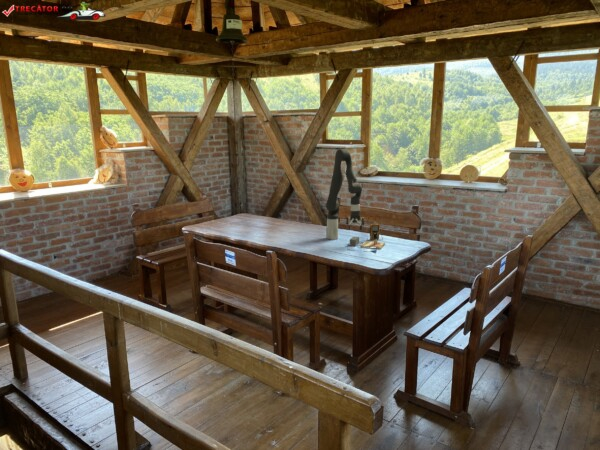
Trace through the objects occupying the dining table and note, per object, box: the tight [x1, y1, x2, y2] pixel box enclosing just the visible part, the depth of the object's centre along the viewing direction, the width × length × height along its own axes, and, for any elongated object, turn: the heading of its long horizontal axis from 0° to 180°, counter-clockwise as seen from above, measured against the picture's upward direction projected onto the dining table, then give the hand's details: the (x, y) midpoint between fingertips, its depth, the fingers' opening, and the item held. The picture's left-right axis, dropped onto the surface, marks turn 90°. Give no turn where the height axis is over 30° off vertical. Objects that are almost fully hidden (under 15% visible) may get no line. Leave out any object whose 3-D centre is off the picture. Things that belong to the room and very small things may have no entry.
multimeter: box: [366, 215, 384, 242], centre depth 366 cm, size 15×10×20 cm
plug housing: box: [349, 236, 360, 247], centre depth 355 cm, size 5×11×5 cm, turn 157°
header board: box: [360, 239, 386, 250], centre depth 350 cm, size 16×15×5 cm
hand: (355, 229), depth 354 cm, fingers open, 8 cm apart
